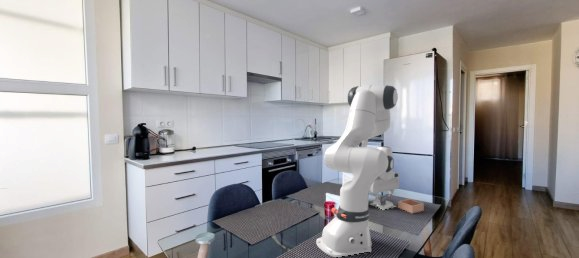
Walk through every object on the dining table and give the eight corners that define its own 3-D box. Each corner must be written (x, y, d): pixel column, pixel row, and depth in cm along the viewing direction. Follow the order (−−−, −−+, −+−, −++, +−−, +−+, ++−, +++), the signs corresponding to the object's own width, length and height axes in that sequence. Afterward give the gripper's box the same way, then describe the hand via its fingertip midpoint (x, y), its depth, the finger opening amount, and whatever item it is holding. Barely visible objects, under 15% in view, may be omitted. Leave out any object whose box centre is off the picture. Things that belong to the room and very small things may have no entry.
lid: (383, 209, 137) (383, 200, 137) (368, 203, 147) (368, 194, 147) (397, 206, 142) (397, 197, 141) (382, 200, 152) (382, 192, 151)
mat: (383, 210, 138) (383, 209, 138) (369, 204, 147) (369, 203, 147) (396, 207, 142) (396, 206, 142) (382, 201, 151) (382, 200, 151)
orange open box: (412, 213, 132) (412, 206, 132) (397, 208, 140) (398, 201, 140) (423, 211, 136) (423, 203, 136) (409, 205, 144) (409, 198, 144)
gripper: (374, 178, 136) (374, 203, 137) (401, 173, 145) (401, 197, 146) (365, 175, 142) (365, 199, 143) (392, 171, 151) (392, 194, 152)
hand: (383, 198), depth 145 cm, fingers open, 8 cm apart
